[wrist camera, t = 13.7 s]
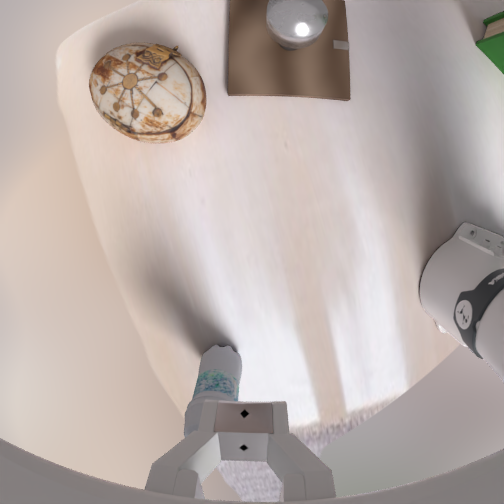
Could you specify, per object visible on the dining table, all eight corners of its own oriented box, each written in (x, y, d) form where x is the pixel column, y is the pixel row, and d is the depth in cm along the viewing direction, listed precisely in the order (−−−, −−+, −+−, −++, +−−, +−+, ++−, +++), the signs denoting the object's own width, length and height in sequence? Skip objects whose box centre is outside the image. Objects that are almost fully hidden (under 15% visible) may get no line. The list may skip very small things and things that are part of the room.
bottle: (212, 376, 48) (192, 476, 29) (194, 345, 46) (163, 446, 27) (250, 367, 47) (245, 471, 28) (234, 334, 45) (220, 439, 26)
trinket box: (208, 143, 37) (196, 140, 30) (103, 148, 37) (72, 149, 30) (213, 45, 33) (203, 23, 26) (108, 57, 33) (81, 43, 26)
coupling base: (342, 4, 30) (353, -15, 24) (347, 101, 35) (362, 93, 29) (230, -2, 31) (226, -23, 25) (228, 95, 35) (223, 86, 29)
